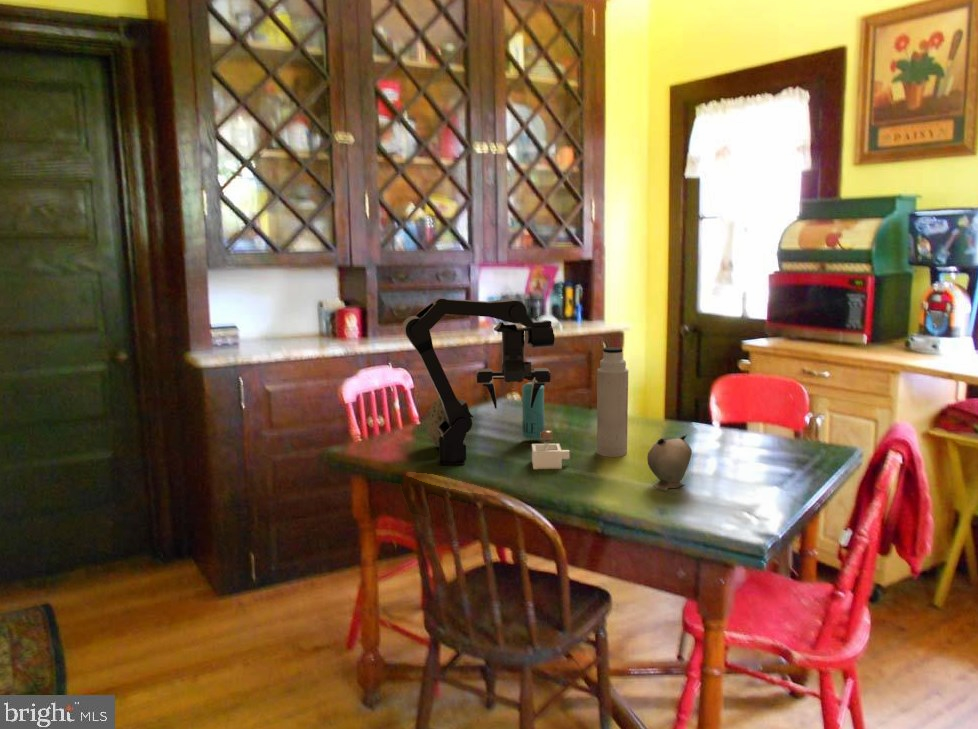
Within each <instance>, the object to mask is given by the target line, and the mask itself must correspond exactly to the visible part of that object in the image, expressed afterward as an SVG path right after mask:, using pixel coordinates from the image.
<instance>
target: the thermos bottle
mask: <svg viewBox="0 0 978 729" xmlns="http://www.w3.org/2000/svg"><path fill="white" fill-rule="evenodd" d="M602 352H603V358H602V359H601V360H599V367H598V368H597V370H596V371H597V374H596V375H597V376H596V377H597V379H596V380H597V382H596V384H597V385H596V419H597V420H596V421H597V422H596V454H598V455H600V456H604V457H609V458H610V457H614V458H616V457H623V456H626V455H627V454H628V427H629V426H628V425H629V424H628V422H629V420H628V409H629V407H628V406H629V369H628V368H626V367H627V366H626V365H627V362H626V359H624V358H623V348H622V347H616V346H615V347H614V346H609V347H604V348H603V349H602Z"/></svg>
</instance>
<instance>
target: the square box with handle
mask: <svg viewBox="0 0 978 729" xmlns="http://www.w3.org/2000/svg"><path fill="white" fill-rule="evenodd" d="M563 460H570V450H569V449H562V447H561V444H560V443H548V451H545V443H532V444H531V463H532V468H533V470H561V469H562V468H563V467H562V466H563V464H562V463H563V462H562V461H563Z"/></svg>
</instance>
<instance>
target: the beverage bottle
mask: <svg viewBox="0 0 978 729" xmlns="http://www.w3.org/2000/svg"><path fill="white" fill-rule="evenodd" d="M526 380H527V381H530V382H526V383H524V384H523V386H522V387H521V390H522V396H521V397H522V398H521V411H522V413H521V418H522V420H521V426H522V429H521V431H522V433H521V434H522V437H523V438H524V439H529V440H541V436H540V431H542V430H546V428H545V427H546V425H545V424H546V422H545V421H546V417H545V385H542V386H541V387H540V389H539V390H538V393H537V395H536V398H535V401H534V404H533V407H532V408H531V404H530V401H531V392H532V383H533V379H526ZM531 381H532V382H531Z"/></svg>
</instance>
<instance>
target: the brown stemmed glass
mask: <svg viewBox="0 0 978 729" xmlns="http://www.w3.org/2000/svg"><path fill="white" fill-rule="evenodd" d="M540 436H541V438H540V440H541V441H544V444H545V451H548V444H549V442H550V441H553V430H551V429H545V430H542V431H540Z"/></svg>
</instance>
